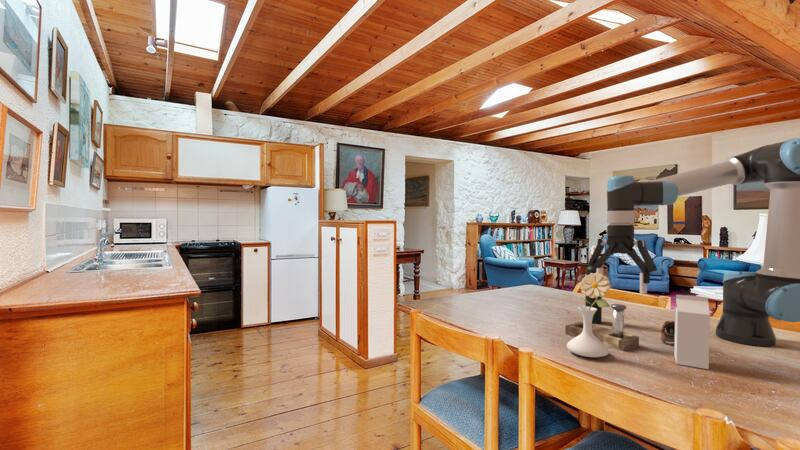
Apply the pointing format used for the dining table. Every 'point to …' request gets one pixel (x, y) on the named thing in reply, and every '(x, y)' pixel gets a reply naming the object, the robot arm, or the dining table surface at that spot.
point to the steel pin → (618, 320)
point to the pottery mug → (668, 332)
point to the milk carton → (692, 331)
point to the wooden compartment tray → (605, 336)
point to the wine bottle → (598, 314)
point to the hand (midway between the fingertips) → (620, 290)
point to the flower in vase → (590, 317)
